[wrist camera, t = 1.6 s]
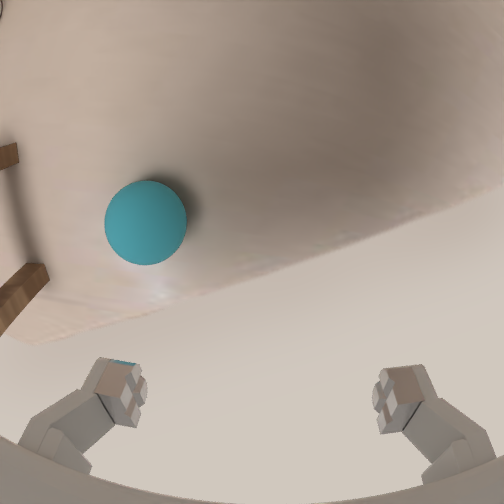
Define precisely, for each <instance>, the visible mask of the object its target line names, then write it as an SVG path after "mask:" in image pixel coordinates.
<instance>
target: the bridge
mask: <svg viewBox="0 0 504 504" xmlns="http://www.w3.org/2000/svg"><path fill="white" fill-rule="evenodd" d="M16 163H19V159H18V153H17V146H16V143H13V144H10V145H6V146H3V147H0V170H3V169H5V168H7V167H9V166H12V165H14V164H16ZM48 281H49V277H48V274H47V271H46V268H45V265H44V264H33V263H26V264H25V265H24V266H23V267H22V268H21V269H19V270H18V271H17V272H16V273H15V274H14V275H13V276H12V277H11V278H10V279H9V280H8V281H7V282H6V283H5V284H4V285H3V286H2V287H1V288H0V337H1V335H2V334H3V333H4V332H5V330H6V329H7V328H8V327H9V325H10V324H11V323H12V322H13V321H14V319H15V318H16V317H17V316H18V315H19V314H20V312H21V311H22V310H23V309H24V308H25V307H26V306H27V304H28V303H29V302H30V301H31V300H32V299H33V298H34V297H35V295H36V294H37V293H38V292H39V291H40V290H41V289H42V288H43V287H44V286H45V285H46V283H47V282H48Z"/></svg>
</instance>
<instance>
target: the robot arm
mask: <svg viewBox="0 0 504 504" xmlns="http://www.w3.org/2000/svg"><path fill="white" fill-rule="evenodd" d="M141 372H142V370H141V367H140V365H139V364H136V363H130V362H124V361H119V360H113V359H107V358H102V357H100V358H98V359H97V360H96V362H95V364H94V365H93V367H92V369H91V371H90V373H89V375H88V376H87V378H86V380H85V382H84V384H83V386H82V388H81V390H78V389H77V390H75V391H74V392H72V393H70V394H69V395H67V396H66V397H64V398H63V399H61V400H60V401H58V402H56V403H55V404H53V405H51V406H50V407H48V408H47V409H45V410H43V411H42V412H40V413H39V414H37V415H35V416H34V417H32V418H31V420H30V421H29V423H28V425H27V427H26V429H25V431H24V433H23V435H22V437H21V439H20V441H19V443H18V445H17V444H15V443H13V442H11V441H9V440H8V439H6V438H4V437H2V436H1V435H0V504H232V503H220V502H210V501H202V500H193V499H187V498H181V497H175V496H169V495H164V494H159V493H154V492H149V491H144V490H140V489H136V488H132V487H128V486H124V485H121V484H117V483H114V482H110V481H106V480H104V479H100V478H97V477H94V476H91V475H89V473H90V470H91V467H92V465H91V463H90V462H89V461H88V460H87V459H86V458H85V457H84V456H83V453H84V452H85V451H87V449H89V448H90V447H91V446H92V445H93V444H94V443H96V442H97V441H98V440H99V439H100V438H101V437H102V436H104V435H105V434H106V433H107V432H108V431H109V430H110V429H111V428H112V427H114V426H115V424H118V425H122V426H128V427H133V428H136V427H137V424H138V421H139V418H140V416H141V412H140V409H139V407H141V406H142V405H143V404H145V400H146V397H147V383H146V380H145V379H144V378H143V377H142V376H141V375H140V374H141ZM379 378H380V381H379V382H378V383H376V384H375V386H374V389H373V395H372V400H373V406H374V409H375V410H376V411H377V412H378V413H379V416H378V418H377V422H378V426H379V430H380V434H387V433H394V432H402V431H403V432H402V433H403V434H404V435H405V436H406V437H407V438H408V439H409V440H410V441H411V442H412V444H413V445H414V446H415V447H416V448H417V449H418V450H419V451H420V452H421V453H422V454H423V455H424V456H425V457H426V458H427V459H428V460H429V461H430V462H431V463H432V465H430V466H429V467H428V468H427V469H426V470H425V471H424V472H423V474H422V481H423V485H421V486H417V487H413V488H409V489H405V490H401V491H396V492H392V493H387V494H382V495H377V496H371V497H366V498H359V499H352V500H344V501H336V502H327V503H313V504H504V455H503V456H500V457H498V458H496V455H495V452H494V450H493V447H492V445H491V442H490V440H489V437H488V435H487V432H486V430H485V429H483V428H482V427H481V426H479V425H478V424H476V423H475V422H474V421H472V420H471V419H470V418H468V417H467V416H466V415H464V414H463V413H462V412H460V411H459V410H457V409H456V408H455V407H453V406H452V405H451V404H449V403H448V402H447V401H445V400H444V399H443V398H438V396H437V394H436V392H435V389H434V387H433V385H432V383H431V380H430V378H429V376H428V374H427V372H426V369H425V367H424V366H423V365H422V364H419V365H411V366H402V367H393V368H385V369H382V370H381V372H380V374H379Z"/></svg>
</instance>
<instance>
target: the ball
mask: <svg viewBox="0 0 504 504" xmlns="http://www.w3.org/2000/svg"><path fill="white" fill-rule="evenodd" d="M186 226H187V217H186V212H185V209H184V206H183V204H182V202H181V200H180V198H179V197H178V196H177V194H176V193H175V192H174V191H173V190H171V189H170V188H169V187H167V186H165V185H163V184H161V183H158V182H154V181H138V182H134V183H131V184H129V185H127V186H125V187H124V188H122V189H121V190H120V191H119V192H118V193H117V194H116V195H115V196H114V197H113V198H112V200H111V202H110V203H109V205H108V208H107V211H106V215H105V233H106V236H107V239H108V242H109V244H110V245H111V247H112V248H113V250H114V251H115V252H116V253H117V254H118V255H119V256H120V257H122V258H123V259H125V260H126V261H128V262H131V263H134V264H138V265H152V264H156V263H159V262H162V261H164V260H166V259H167V258H169V257H170V256H171V255H172V254H173V253H175V251H176V250H177V249H178V248H179V246H180V245H181V243H182V241H183V238H184V236H185V232H186Z"/></svg>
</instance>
